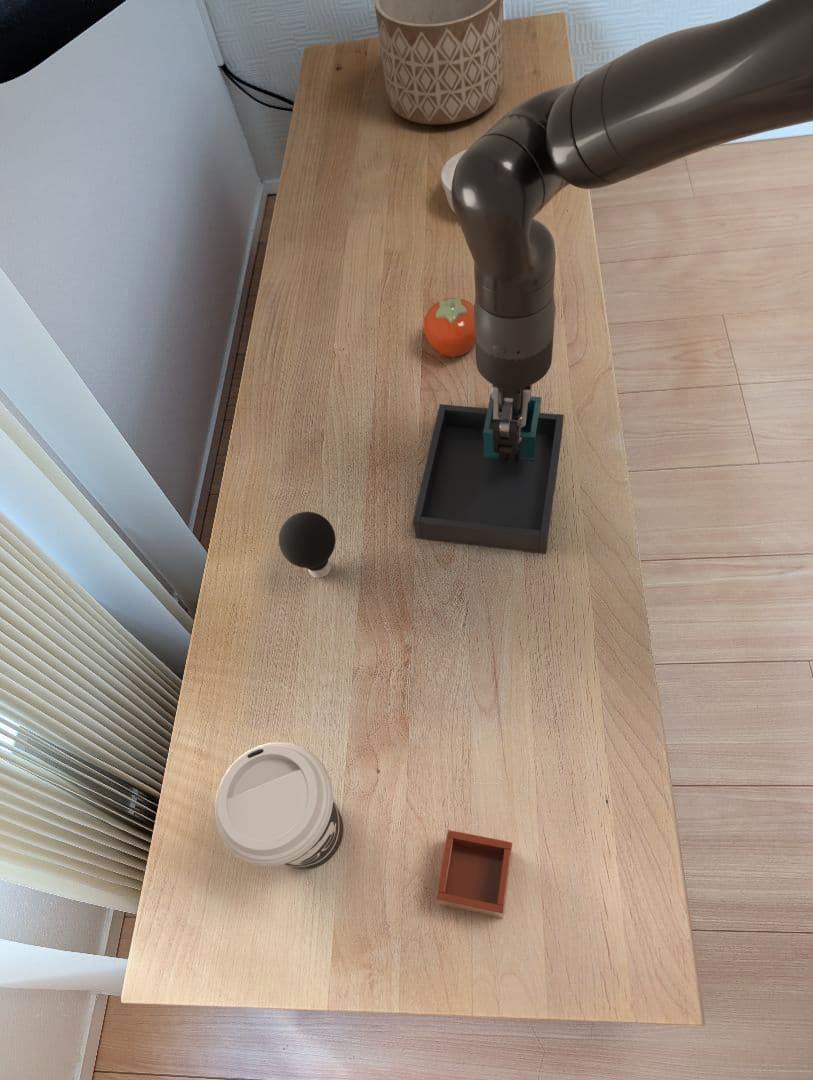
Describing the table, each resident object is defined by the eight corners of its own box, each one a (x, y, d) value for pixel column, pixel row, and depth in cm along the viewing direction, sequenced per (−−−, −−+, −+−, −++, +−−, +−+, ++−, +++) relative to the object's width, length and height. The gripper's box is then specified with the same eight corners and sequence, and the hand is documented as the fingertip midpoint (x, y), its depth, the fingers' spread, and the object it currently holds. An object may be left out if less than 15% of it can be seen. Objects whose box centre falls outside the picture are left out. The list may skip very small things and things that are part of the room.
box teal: (539, 422, 90) (541, 396, 86) (534, 462, 87) (535, 437, 83) (491, 418, 91) (490, 392, 87) (484, 457, 88) (483, 432, 84)
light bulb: (337, 599, 85) (318, 555, 77) (288, 589, 86) (263, 544, 78) (353, 554, 88) (337, 506, 79) (305, 544, 89) (284, 496, 81)
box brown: (512, 850, 70) (512, 842, 66) (503, 918, 68) (503, 913, 64) (451, 838, 71) (447, 829, 68) (440, 904, 69) (436, 899, 65)
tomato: (478, 322, 104) (476, 274, 97) (485, 363, 100) (484, 316, 93) (423, 329, 104) (417, 282, 97) (428, 371, 100) (422, 325, 94)
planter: (365, 112, 131) (347, 5, 117) (437, 55, 137) (428, -52, 123) (455, 148, 123) (448, 38, 109) (526, 86, 130) (529, -25, 116)
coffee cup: (362, 779, 75) (332, 734, 62) (356, 887, 70) (322, 863, 57) (265, 779, 76) (216, 735, 63) (253, 886, 71) (197, 861, 58)
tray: (562, 433, 93) (563, 414, 90) (546, 554, 85) (547, 537, 82) (442, 423, 96) (439, 403, 93) (415, 538, 88) (412, 521, 85)
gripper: (545, 388, 70) (538, 493, 84) (561, 277, 77) (553, 391, 91) (462, 382, 71) (470, 485, 86) (486, 273, 78) (489, 386, 93)
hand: (513, 436), depth 88 cm, fingers closed on box teal, 5 cm apart
